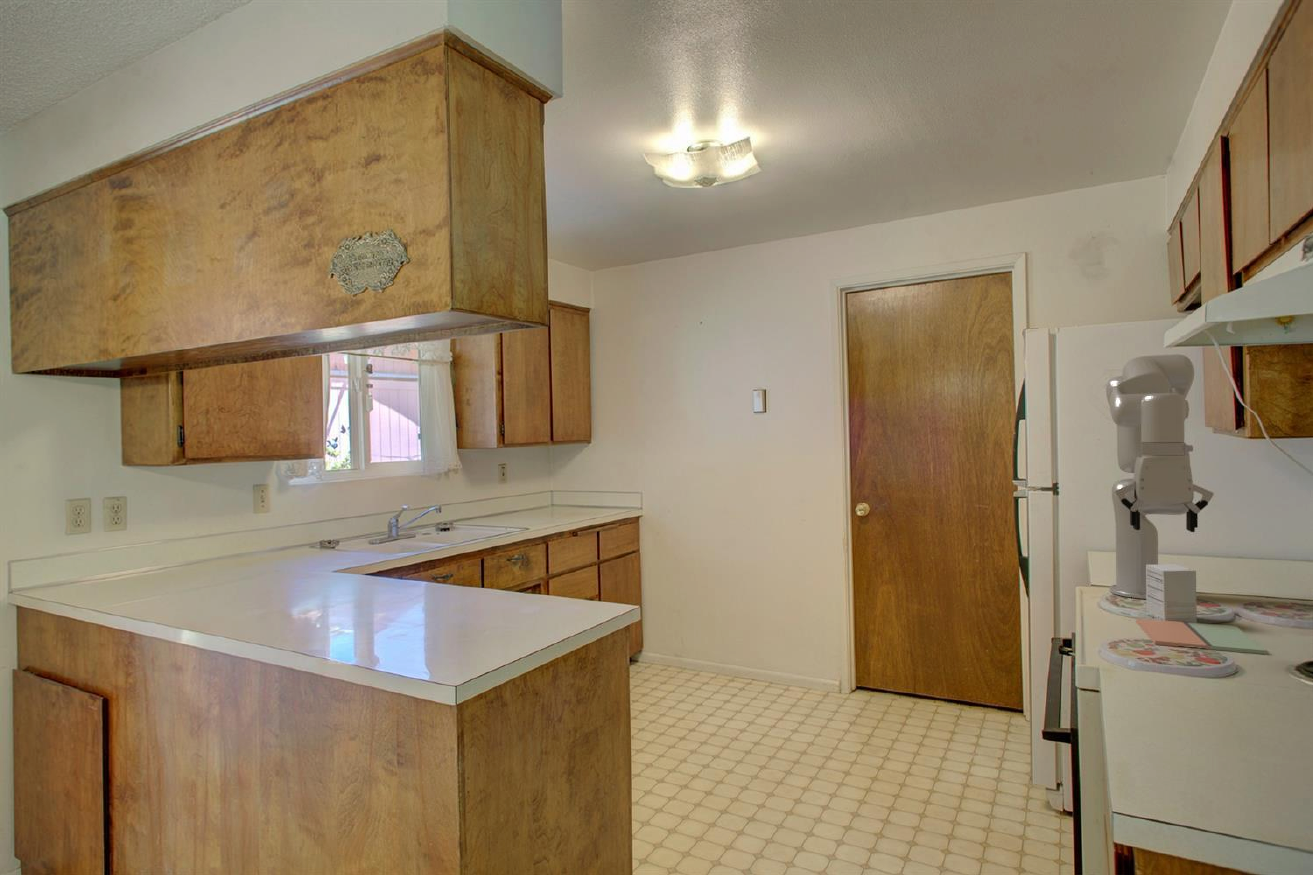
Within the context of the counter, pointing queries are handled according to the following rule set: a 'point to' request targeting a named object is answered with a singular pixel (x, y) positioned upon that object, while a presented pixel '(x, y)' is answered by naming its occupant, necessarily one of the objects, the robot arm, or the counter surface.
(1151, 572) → the supplement box
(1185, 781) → the counter surface
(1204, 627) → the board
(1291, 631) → the counter surface
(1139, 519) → the robot arm
